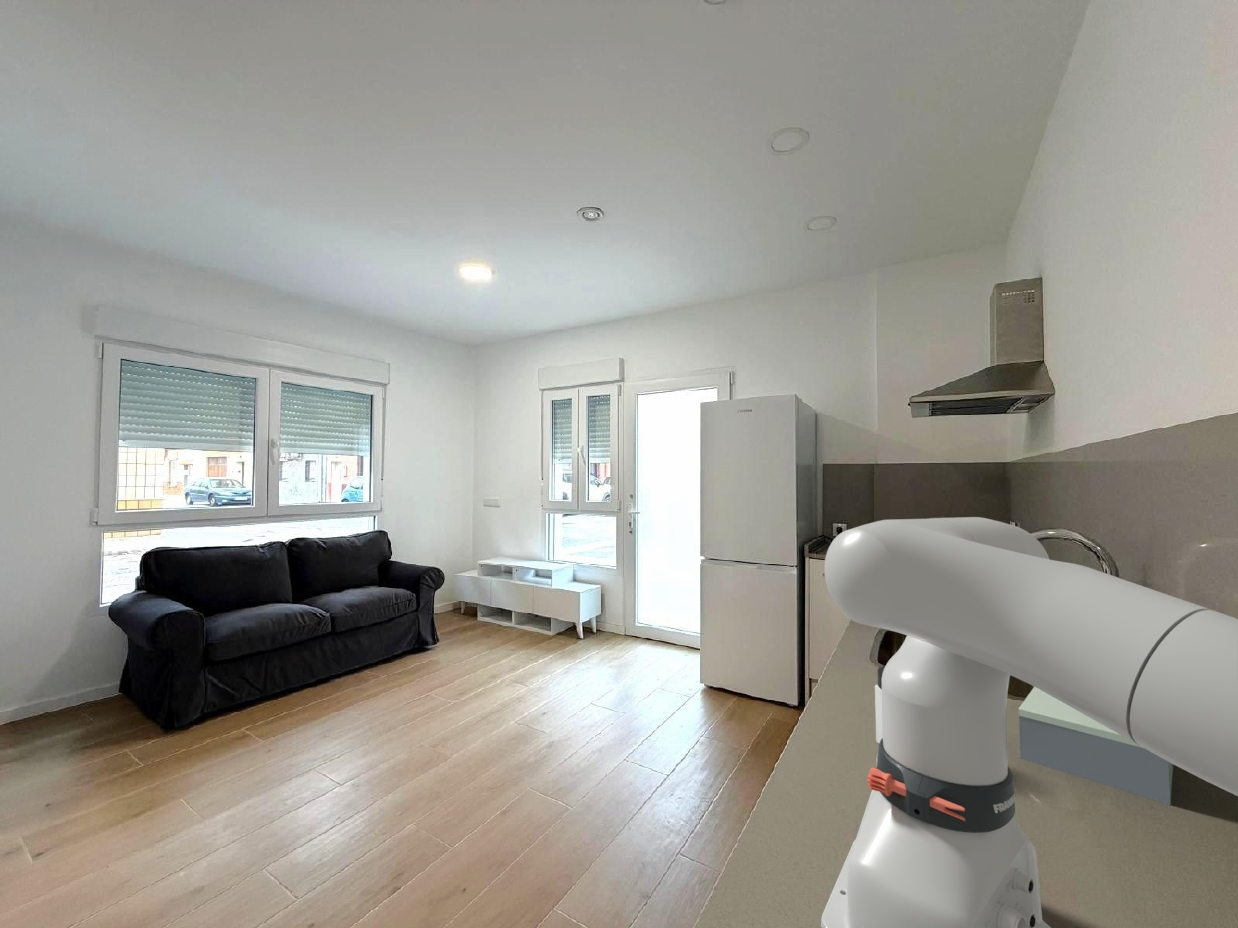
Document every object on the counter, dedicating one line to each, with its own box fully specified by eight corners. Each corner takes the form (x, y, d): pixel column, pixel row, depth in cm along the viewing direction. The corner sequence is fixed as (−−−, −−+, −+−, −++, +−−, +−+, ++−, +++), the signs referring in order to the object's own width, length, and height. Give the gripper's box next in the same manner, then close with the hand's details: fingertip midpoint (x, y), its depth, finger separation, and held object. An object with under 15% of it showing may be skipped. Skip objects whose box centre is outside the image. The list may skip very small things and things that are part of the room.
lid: (1167, 761, 69) (1162, 648, 69) (1018, 721, 81) (1015, 625, 81) (1169, 724, 80) (1164, 626, 80) (1037, 694, 91) (1034, 609, 92)
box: (1170, 808, 68) (1167, 754, 69) (1020, 761, 80) (1018, 715, 81) (1173, 765, 79) (1170, 718, 79) (1040, 729, 91) (1039, 689, 91)
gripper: (1324, 756, 56) (1147, 710, 68) (1343, 713, 67) (1188, 680, 79) (1320, 698, 57) (1145, 662, 68) (1340, 664, 67) (1186, 639, 79)
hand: (1168, 672), depth 74 cm, fingers open, 8 cm apart
